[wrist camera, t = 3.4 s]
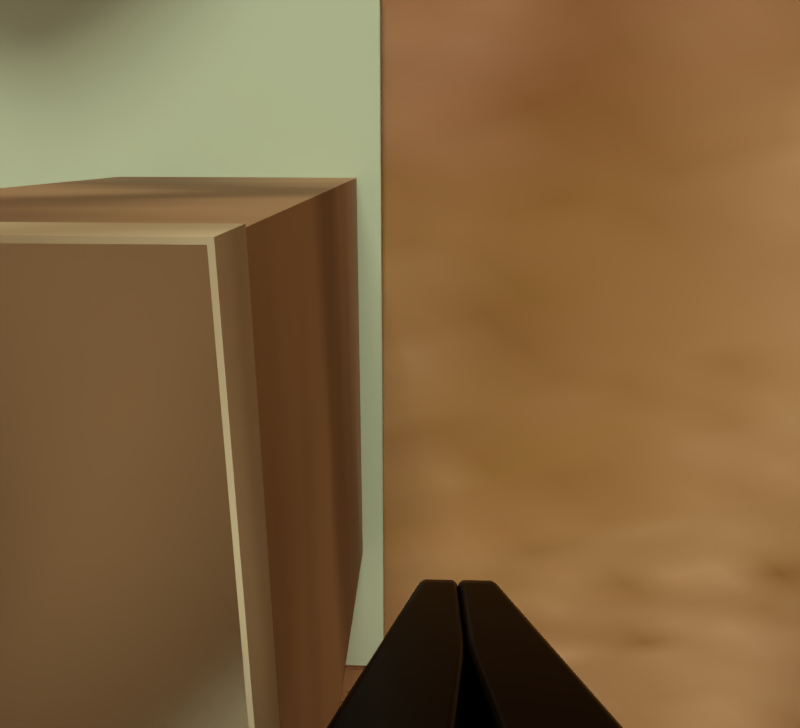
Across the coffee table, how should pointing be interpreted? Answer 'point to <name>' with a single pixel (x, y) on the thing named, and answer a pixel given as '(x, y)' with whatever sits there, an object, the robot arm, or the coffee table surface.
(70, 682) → the walnut block
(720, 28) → the coffee table surface
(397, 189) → the coffee table surface
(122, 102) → the mat
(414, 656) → the robot arm
